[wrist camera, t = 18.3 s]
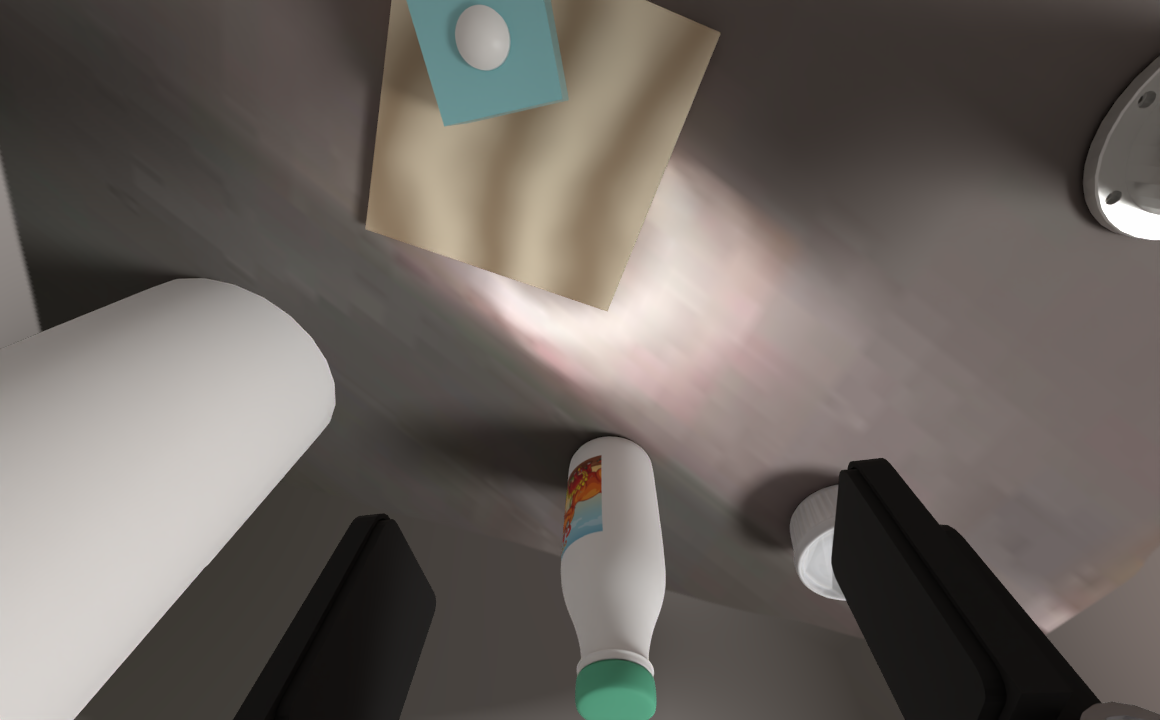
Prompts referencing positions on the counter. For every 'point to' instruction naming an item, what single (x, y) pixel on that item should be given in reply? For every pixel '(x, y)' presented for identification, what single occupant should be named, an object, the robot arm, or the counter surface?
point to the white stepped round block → (136, 471)
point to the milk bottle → (613, 576)
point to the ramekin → (816, 542)
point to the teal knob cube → (489, 56)
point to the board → (541, 151)
